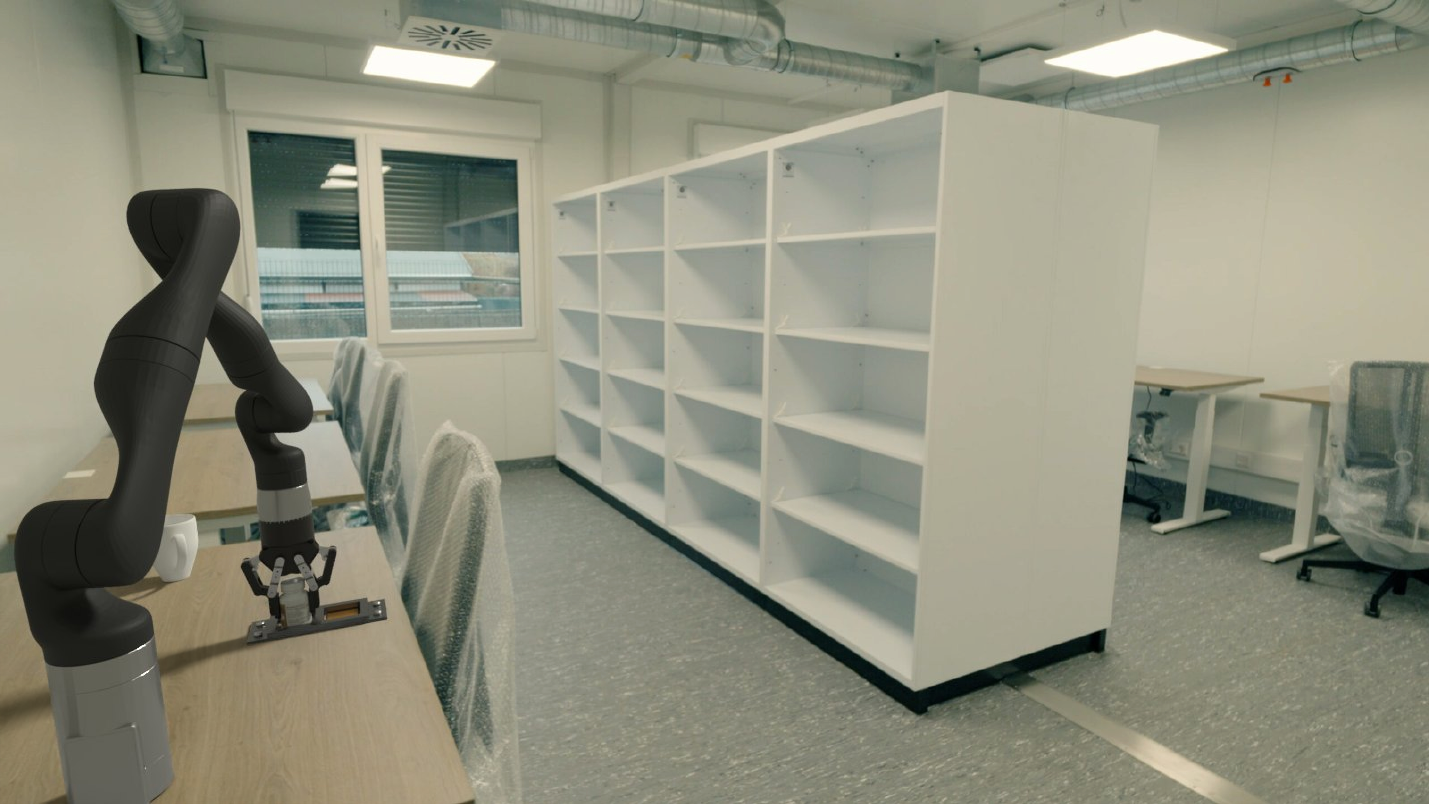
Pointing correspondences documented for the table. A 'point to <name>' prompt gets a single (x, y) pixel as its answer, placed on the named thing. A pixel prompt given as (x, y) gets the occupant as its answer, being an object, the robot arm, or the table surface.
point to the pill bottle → (294, 602)
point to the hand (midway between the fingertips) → (296, 613)
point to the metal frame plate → (321, 620)
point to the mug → (177, 547)
